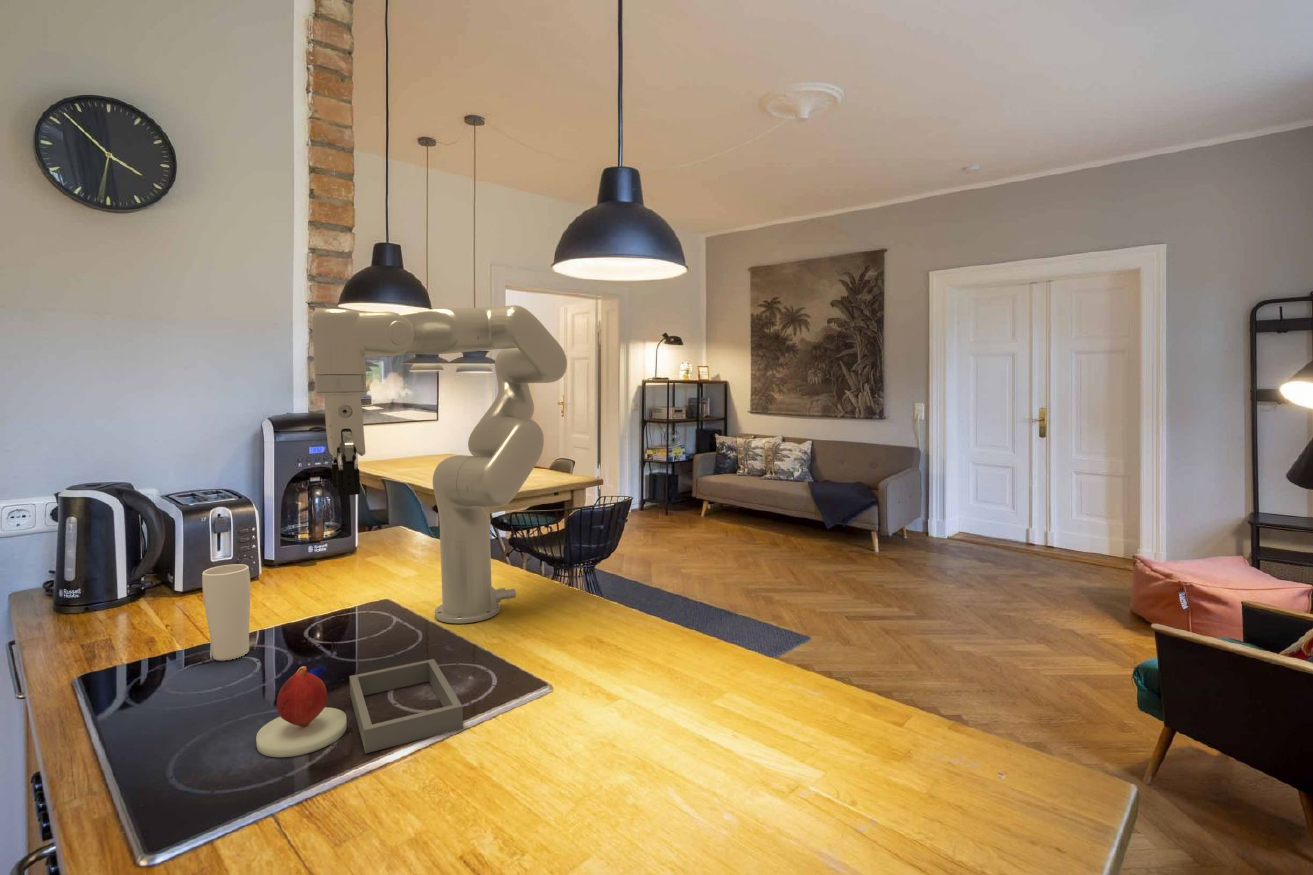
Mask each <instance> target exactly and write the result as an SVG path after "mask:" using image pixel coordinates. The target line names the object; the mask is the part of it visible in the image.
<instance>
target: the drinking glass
mask: <svg viewBox="0 0 1313 875" xmlns="http://www.w3.org/2000/svg"><path fill="white" fill-rule="evenodd" d="M250 574H251V573H250V567H249V565H247V564H242V563H241V564H240V563H239V564H236V563H235V564H225V565H217V566H214V567H210V568H208V569H206V570H203V572H202V574H201V575H202V576H201V577H202V578H201V579H202V580H201V583H202V596H203V603H204V608H205V615H206V620H207V628H208V630H209V631H208V632H209V637H210V643H211V644H210V645H211V655H212V657H213V658H212V659H214V660H216V661H219V662H224V661H226V660H227V661H232V659H233V660H236V658H237V659H240V658H242V657H244V656H245V654H246V655H248V653H249V652H250V621H251V620H250V617H251V616H250V615H251V613H250V612H251V575H250ZM241 656H242V657H241ZM239 657H240V658H239Z"/></svg>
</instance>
